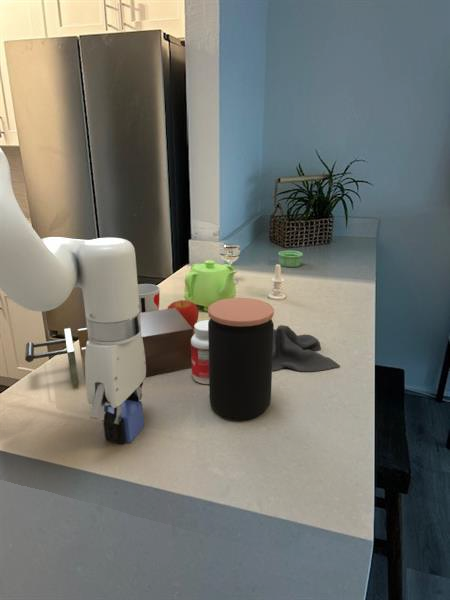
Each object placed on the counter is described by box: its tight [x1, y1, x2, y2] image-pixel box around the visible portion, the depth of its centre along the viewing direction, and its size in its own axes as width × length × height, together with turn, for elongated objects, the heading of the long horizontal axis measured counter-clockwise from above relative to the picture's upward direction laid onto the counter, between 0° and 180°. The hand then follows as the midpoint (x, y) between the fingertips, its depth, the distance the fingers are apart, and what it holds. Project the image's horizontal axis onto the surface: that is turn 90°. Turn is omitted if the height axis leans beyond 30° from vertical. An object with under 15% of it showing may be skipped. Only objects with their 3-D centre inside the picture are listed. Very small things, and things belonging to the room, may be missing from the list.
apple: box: [167, 299, 200, 331], centre depth 104 cm, size 8×8×8 cm
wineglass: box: [219, 243, 242, 285], centre depth 140 cm, size 7×7×12 cm
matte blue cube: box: [102, 400, 145, 444], centre depth 67 cm, size 4×4×4 cm
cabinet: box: [140, 308, 194, 378], centre depth 89 cm, size 14×13×9 cm
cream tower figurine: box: [267, 262, 287, 301], centre depth 126 cm, size 5×5×10 cm
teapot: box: [183, 259, 238, 312], centre depth 120 cm, size 16×14×13 cm
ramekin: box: [278, 250, 304, 268], centre depth 161 cm, size 9×9×4 cm
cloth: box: [272, 324, 341, 373], centre depth 92 cm, size 22×19×6 cm
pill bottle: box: [191, 319, 210, 385], centre depth 82 cm, size 6×6×11 cm
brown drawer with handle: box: [24, 327, 89, 386], centre depth 84 cm, size 20×11×7 cm, turn 112°
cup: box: [138, 283, 161, 313], centre depth 106 cm, size 8×8×10 cm
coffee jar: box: [207, 297, 275, 421], centre depth 72 cm, size 11×11×18 cm
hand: (124, 429), depth 68 cm, fingers closed on matte blue cube, 4 cm apart
